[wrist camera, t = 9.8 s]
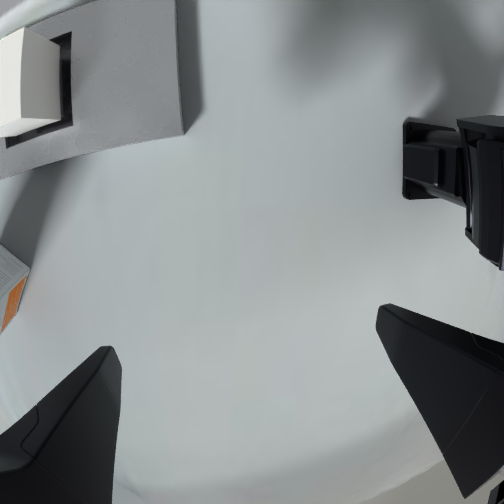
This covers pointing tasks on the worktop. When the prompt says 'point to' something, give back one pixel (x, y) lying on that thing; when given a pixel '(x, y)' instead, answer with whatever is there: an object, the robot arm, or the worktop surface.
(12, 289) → the skincare box
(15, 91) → the plug
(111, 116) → the socket plate
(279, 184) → the worktop surface
